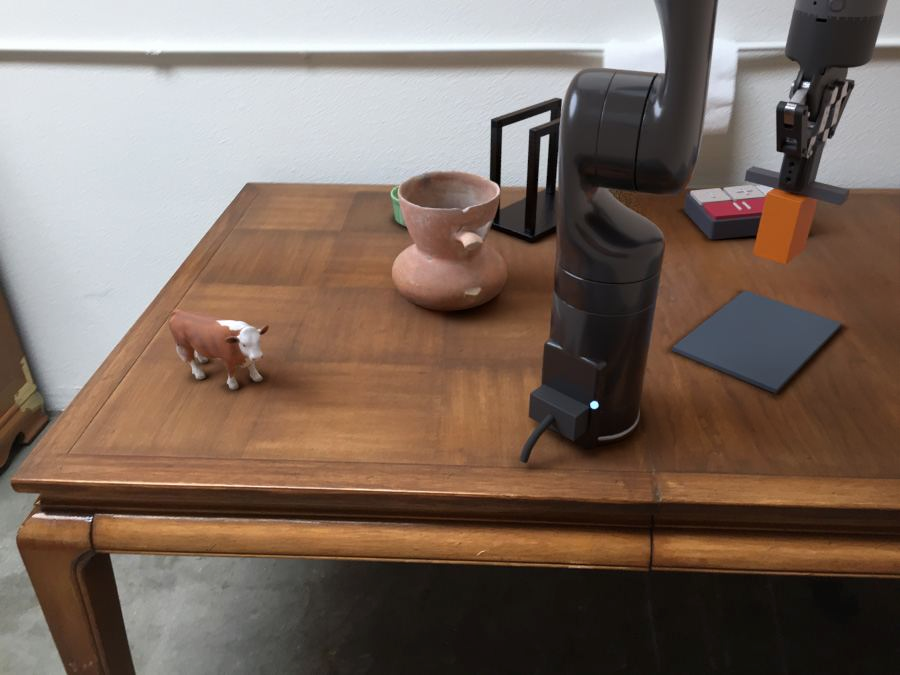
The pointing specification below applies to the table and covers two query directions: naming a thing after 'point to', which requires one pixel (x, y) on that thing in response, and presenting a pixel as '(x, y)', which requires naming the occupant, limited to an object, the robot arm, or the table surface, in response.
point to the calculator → (727, 210)
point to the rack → (529, 175)
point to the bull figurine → (216, 342)
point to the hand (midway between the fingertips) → (794, 186)
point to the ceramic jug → (449, 241)
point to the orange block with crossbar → (790, 209)
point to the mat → (758, 340)
